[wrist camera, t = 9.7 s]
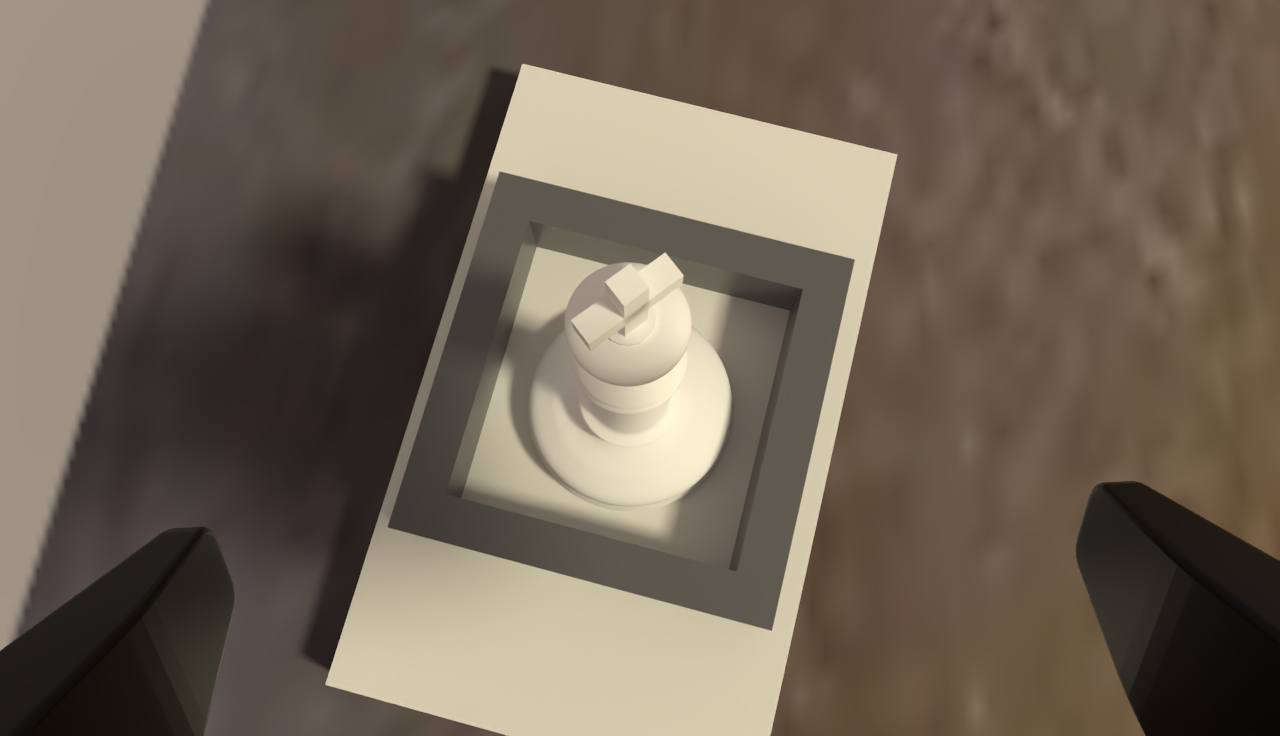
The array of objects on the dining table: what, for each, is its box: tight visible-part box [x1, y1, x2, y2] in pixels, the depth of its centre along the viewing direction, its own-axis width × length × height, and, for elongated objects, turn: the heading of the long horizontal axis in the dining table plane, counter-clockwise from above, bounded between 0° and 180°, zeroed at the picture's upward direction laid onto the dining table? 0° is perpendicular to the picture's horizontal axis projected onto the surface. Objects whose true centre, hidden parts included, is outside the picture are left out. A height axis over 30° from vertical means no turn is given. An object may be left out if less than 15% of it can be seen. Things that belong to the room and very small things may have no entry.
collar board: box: [325, 64, 897, 736], centre depth 22 cm, size 16×10×3 cm, turn 165°
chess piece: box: [528, 253, 733, 511], centre depth 18 cm, size 5×5×10 cm
